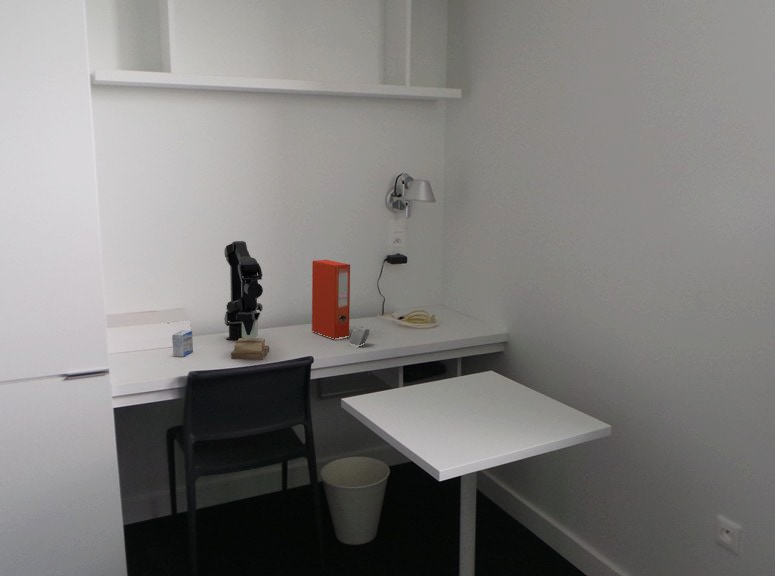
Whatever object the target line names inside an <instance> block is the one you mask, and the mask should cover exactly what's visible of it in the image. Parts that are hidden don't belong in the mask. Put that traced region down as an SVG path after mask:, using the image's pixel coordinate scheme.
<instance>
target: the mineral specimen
mask: <svg viewBox="0 0 775 576" xmlns="http://www.w3.org/2000/svg"><path fill="white" fill-rule="evenodd" d="M370 331H371V329H370V328H367V327H363V326H355V328H354V329H353V330H352V332H351V334H350V336H349V342H348V344H349V343H351V344H355V345H361V344H363V343H365V344H366V342H367V339H368V337H369V335H370V334H369V333H370Z"/></svg>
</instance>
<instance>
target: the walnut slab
mask: <svg viewBox="0 0 775 576" xmlns="http://www.w3.org/2000/svg"><path fill="white" fill-rule="evenodd" d="M269 352H270V345H265V347H264V348H263V350H262V352H261V353H235V352H234V349H233V350H232V351H231V352H230V360H246V361H247V360H254V361H255V360H257V361H264V359H265V358H266V356H267V355H268V354H269Z"/></svg>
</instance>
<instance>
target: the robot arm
mask: <svg viewBox="0 0 775 576" xmlns="http://www.w3.org/2000/svg"><path fill="white" fill-rule="evenodd" d="M224 257H225V259H226V260H225V261H226V262H227V263H228V265H229V268H230V272H229V274H230V275H229V276H230V277H229V278H230V301H228V302H227V304H226V308H225V309H226V311H225V315H224V318H223V319H224V324H225V326H226V327H228V336H227V338H226V340H228V341H238V339H239V338H242V322H243V324H244V327H245V330H246V334H247V335H250V333H251V330H252V327H253V324H254V321H255V320H259V319H260V315H261V312H262V311H263V309H264V308H263V304H262V303H260V302H258V299H259V298H260V297H261V296H262V294H263V292H264V290H263V289H264V288H263V286H262V285H261V284H260V282H259V281H261V280H262V277H263V272H262V267H261V266H260V263H258V261H257V259H256V258H254V257H252V256H251V254H250V252H249V251H248V245H247V243H246V241H244V240H240V241H239V240H236V241H235V240H234V241H232V243H230V244H227V245H226V246H225V247H224Z"/></svg>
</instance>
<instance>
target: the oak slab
mask: <svg viewBox="0 0 775 576" xmlns="http://www.w3.org/2000/svg"><path fill="white" fill-rule="evenodd" d="M265 341H266V338H257V337H256V338H239V339H238V340H236V342H235V343H234V349H233V350H234V352H235V353H261V352H262V350H263V348H264V347H265V346H266V342H265Z"/></svg>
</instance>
